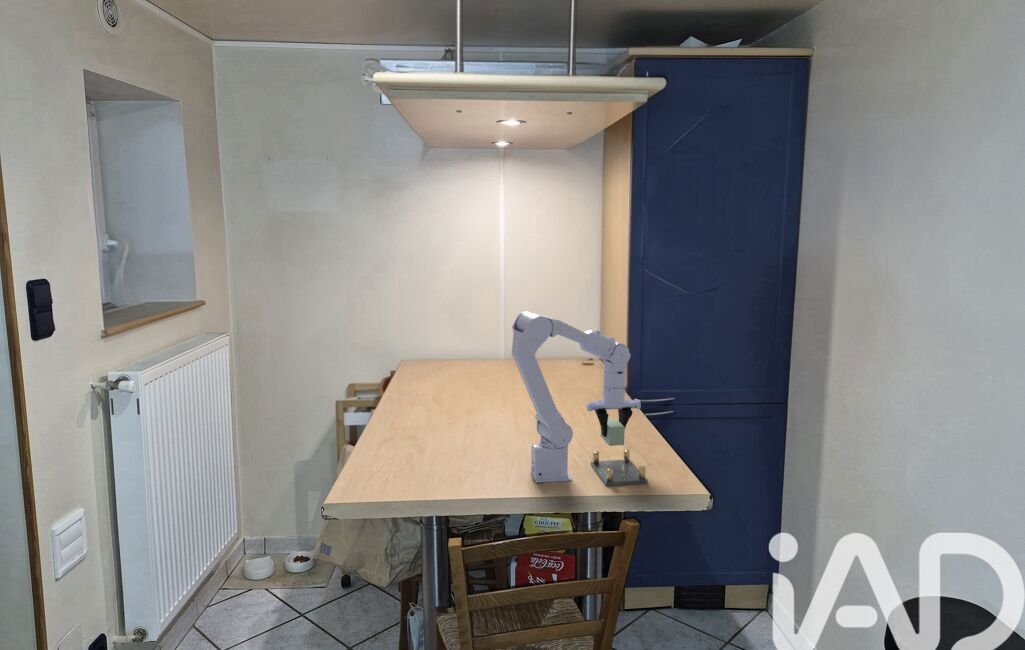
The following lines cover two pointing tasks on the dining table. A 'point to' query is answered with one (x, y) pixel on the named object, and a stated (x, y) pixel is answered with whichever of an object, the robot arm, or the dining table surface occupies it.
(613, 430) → the board block
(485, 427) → the dining table surface
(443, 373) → the dining table surface
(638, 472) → the plate
